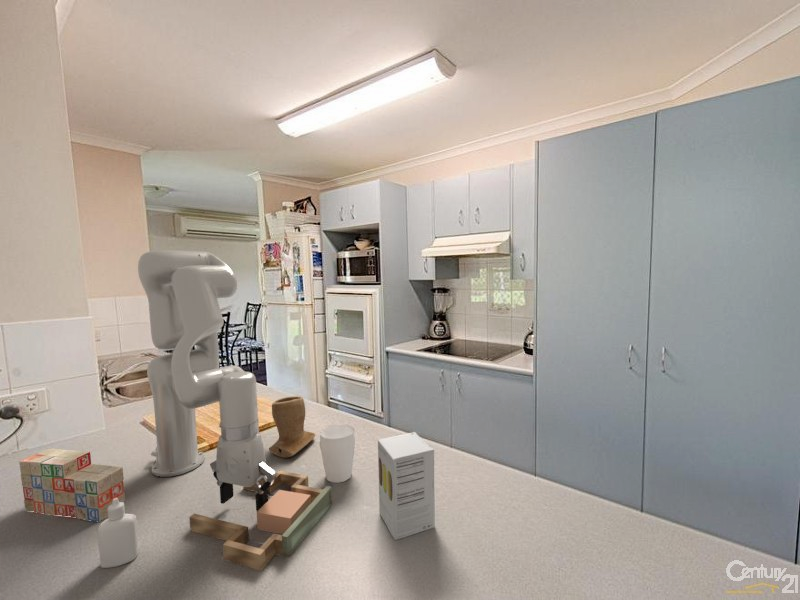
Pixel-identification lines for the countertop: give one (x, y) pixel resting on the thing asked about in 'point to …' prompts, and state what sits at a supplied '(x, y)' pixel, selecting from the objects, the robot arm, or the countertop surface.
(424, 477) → the supplement box
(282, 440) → the stone cup
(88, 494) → the stack of blocks
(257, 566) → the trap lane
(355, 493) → the countertop surface
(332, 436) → the cup
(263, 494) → the robot arm
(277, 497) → the block
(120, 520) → the eye dropper bottle
